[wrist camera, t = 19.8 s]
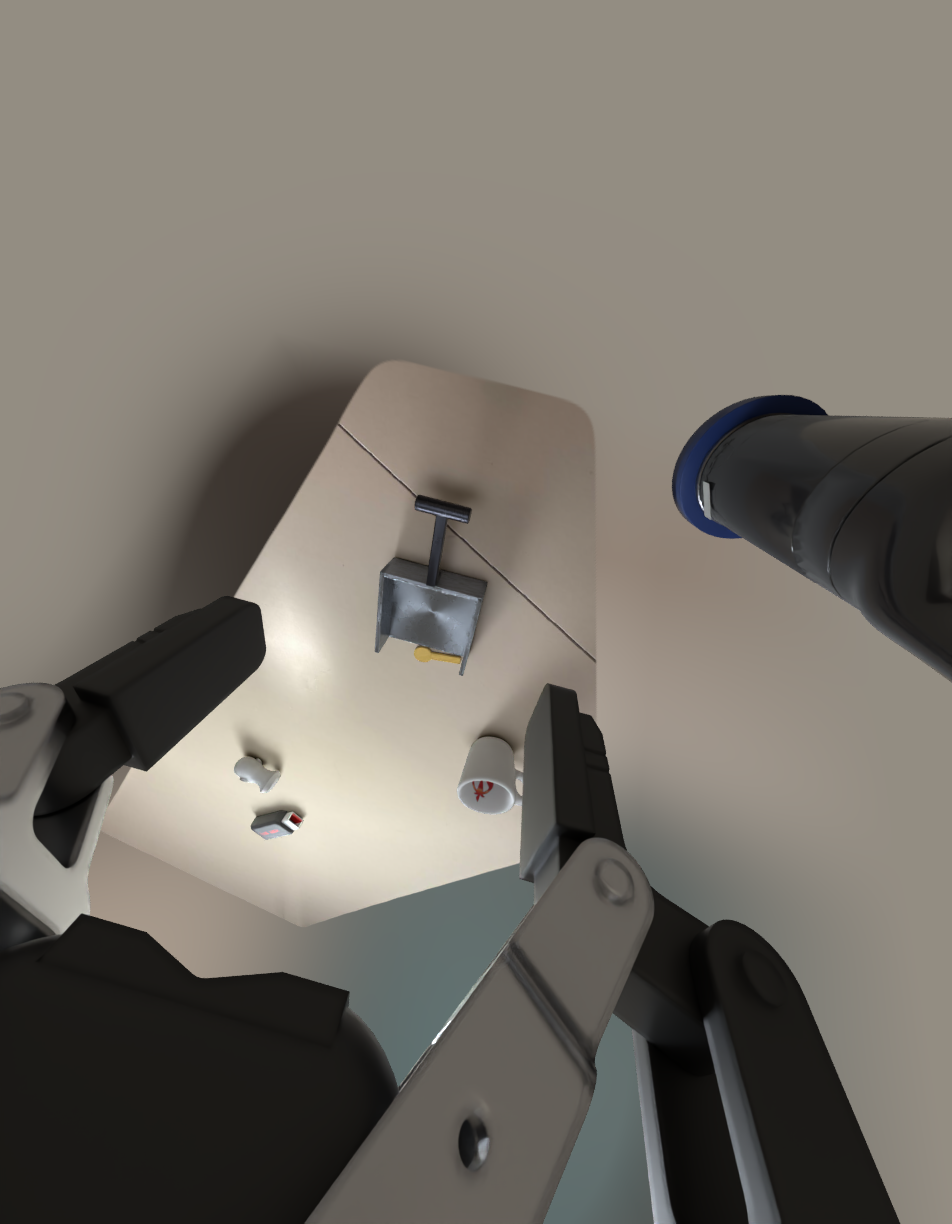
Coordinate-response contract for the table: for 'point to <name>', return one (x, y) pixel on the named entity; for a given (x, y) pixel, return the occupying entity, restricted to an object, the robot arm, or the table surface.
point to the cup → (489, 777)
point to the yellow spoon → (434, 655)
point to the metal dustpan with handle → (430, 594)
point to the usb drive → (276, 824)
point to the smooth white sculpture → (256, 773)
